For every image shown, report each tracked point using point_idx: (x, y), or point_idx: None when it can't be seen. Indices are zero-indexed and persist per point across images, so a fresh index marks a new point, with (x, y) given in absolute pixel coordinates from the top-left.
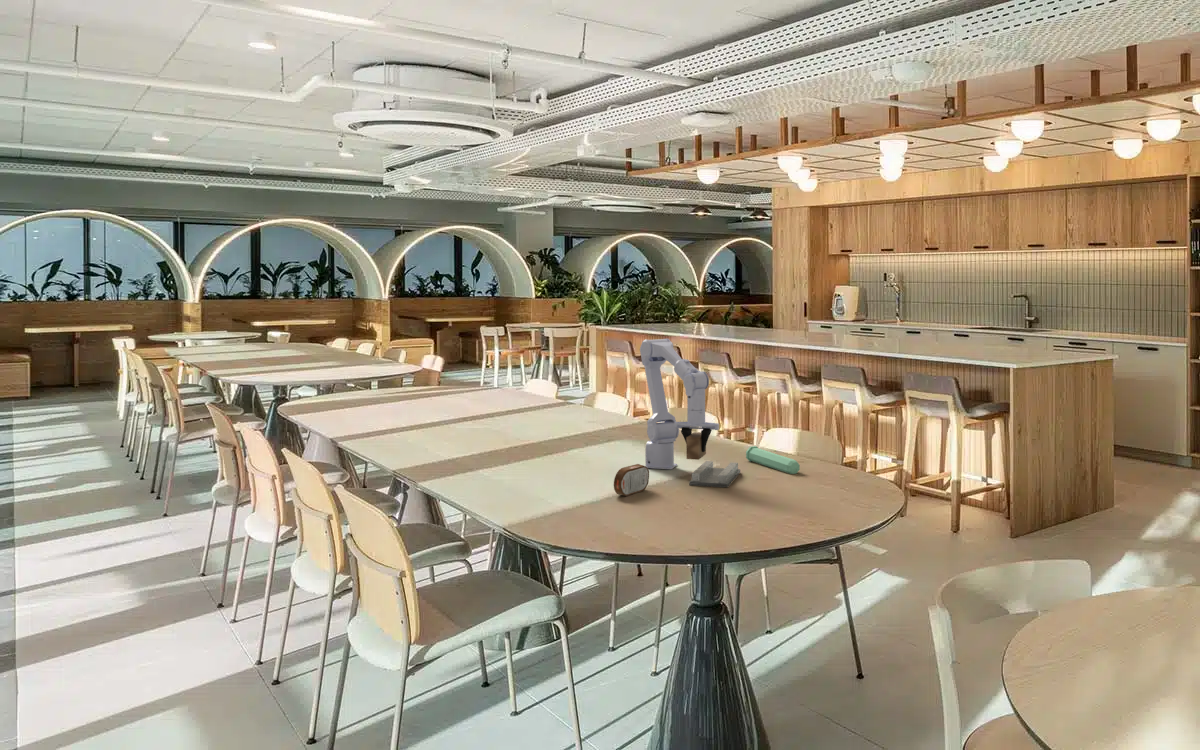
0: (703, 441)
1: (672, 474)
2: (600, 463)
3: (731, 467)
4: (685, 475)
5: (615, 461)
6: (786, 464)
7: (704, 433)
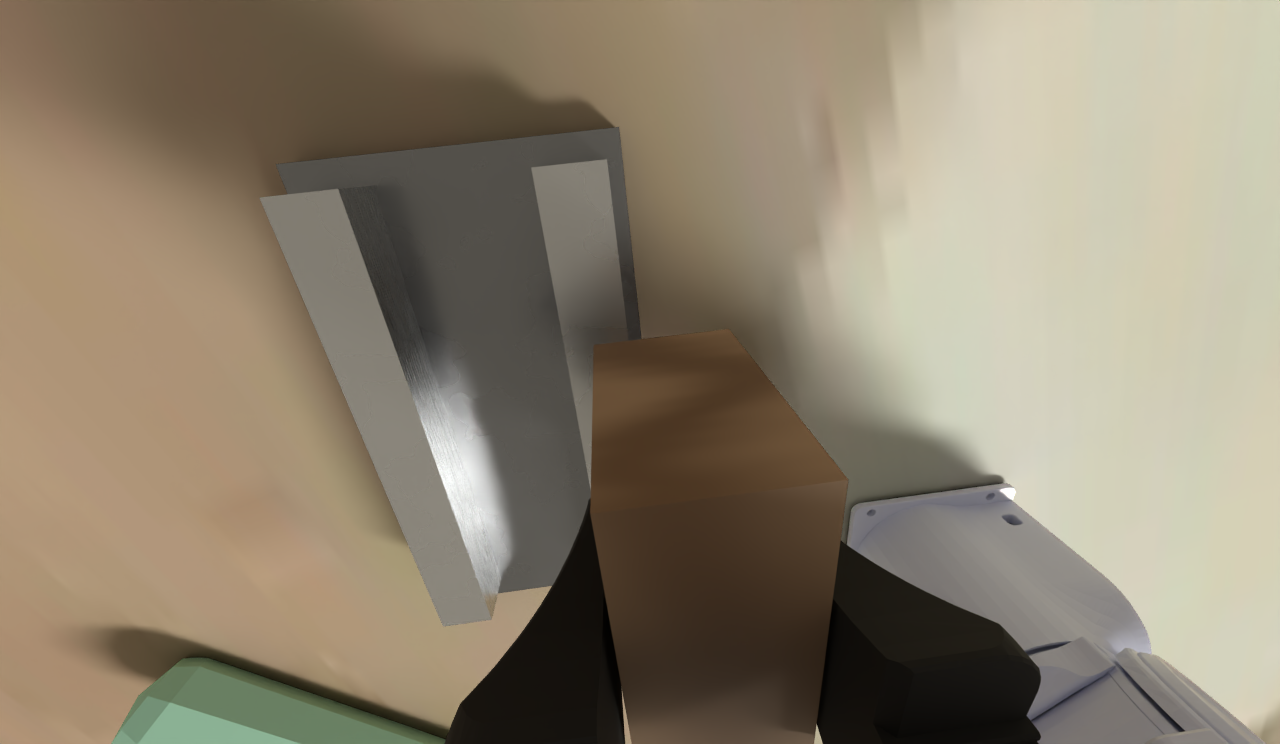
0: (578, 582)
1: (823, 410)
2: (1258, 492)
3: (405, 500)
4: None
5: (1168, 555)
6: (179, 708)
7: (527, 699)
